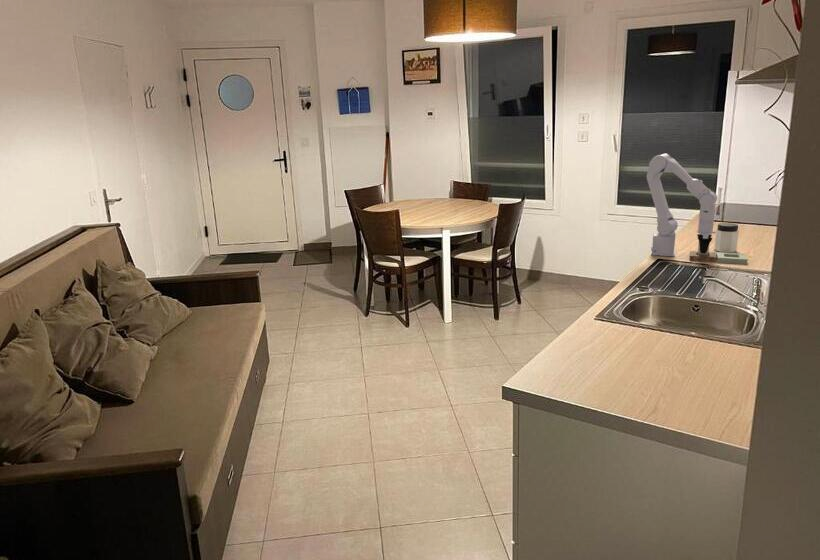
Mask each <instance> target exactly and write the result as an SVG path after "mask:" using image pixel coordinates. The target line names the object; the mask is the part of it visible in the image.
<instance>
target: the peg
mask: <svg viewBox="0 0 820 560" xmlns="http://www.w3.org/2000/svg"><path fill="white" fill-rule="evenodd" d="M697 251H698V254H697V255H705V256H708V253H709V252H710V245H709V246H708V249H707V252H706V253H701V252H700V243H699V242H698V245H697Z"/></svg>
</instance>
